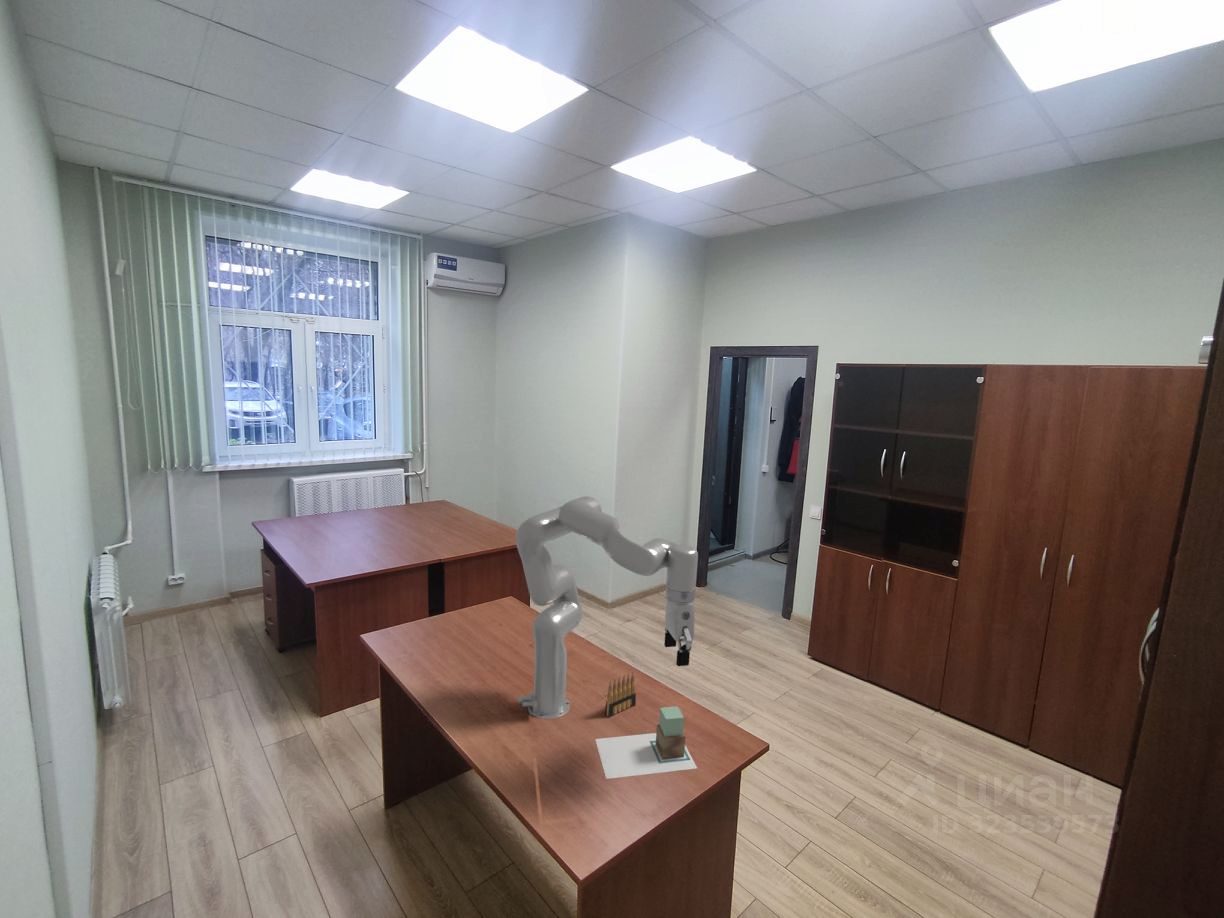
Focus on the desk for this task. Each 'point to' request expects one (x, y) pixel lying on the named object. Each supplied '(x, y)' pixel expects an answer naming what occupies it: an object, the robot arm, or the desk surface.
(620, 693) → the ammunition clip
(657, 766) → the building board
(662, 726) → the sage cube
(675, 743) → the walnut block
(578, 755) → the desk surface
